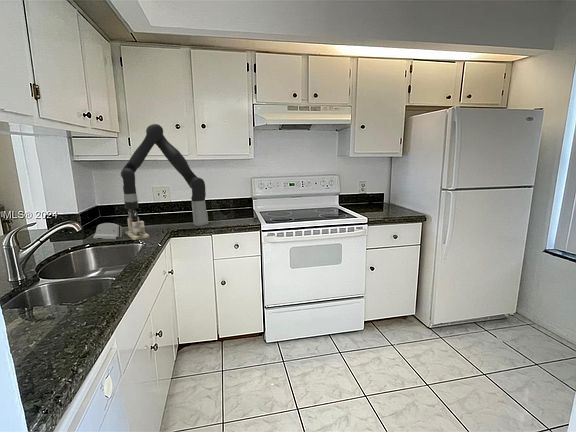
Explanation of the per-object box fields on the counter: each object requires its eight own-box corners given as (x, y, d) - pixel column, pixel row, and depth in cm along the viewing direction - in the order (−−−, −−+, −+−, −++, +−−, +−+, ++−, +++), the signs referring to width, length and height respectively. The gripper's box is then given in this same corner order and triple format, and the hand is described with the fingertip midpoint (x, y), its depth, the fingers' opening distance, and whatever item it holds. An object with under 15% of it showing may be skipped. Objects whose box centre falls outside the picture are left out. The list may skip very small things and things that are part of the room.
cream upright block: (138, 228, 204) (137, 216, 203) (140, 229, 201) (139, 217, 200) (128, 230, 200) (127, 218, 199) (130, 231, 197) (128, 218, 196)
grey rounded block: (92, 238, 194) (94, 222, 196) (98, 238, 199) (100, 223, 200) (115, 239, 191) (117, 222, 192) (121, 239, 195) (123, 223, 197)
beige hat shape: (140, 231, 208) (138, 217, 206) (149, 237, 193) (147, 221, 191) (125, 234, 203) (123, 219, 201) (133, 239, 187) (131, 224, 186)
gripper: (121, 200, 200) (125, 226, 204) (127, 202, 189) (130, 230, 193) (134, 199, 205) (137, 224, 208) (140, 201, 194) (143, 228, 197)
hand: (134, 227), depth 200 cm, fingers closed on cream upright block, 4 cm apart
